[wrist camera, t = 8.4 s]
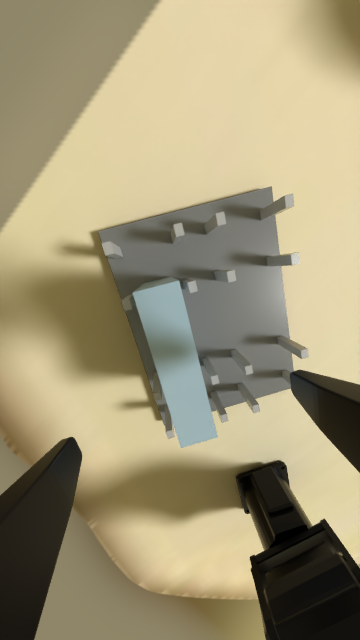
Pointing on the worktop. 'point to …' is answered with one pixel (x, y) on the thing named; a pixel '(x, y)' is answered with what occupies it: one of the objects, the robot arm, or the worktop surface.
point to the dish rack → (215, 293)
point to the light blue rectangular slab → (176, 359)
